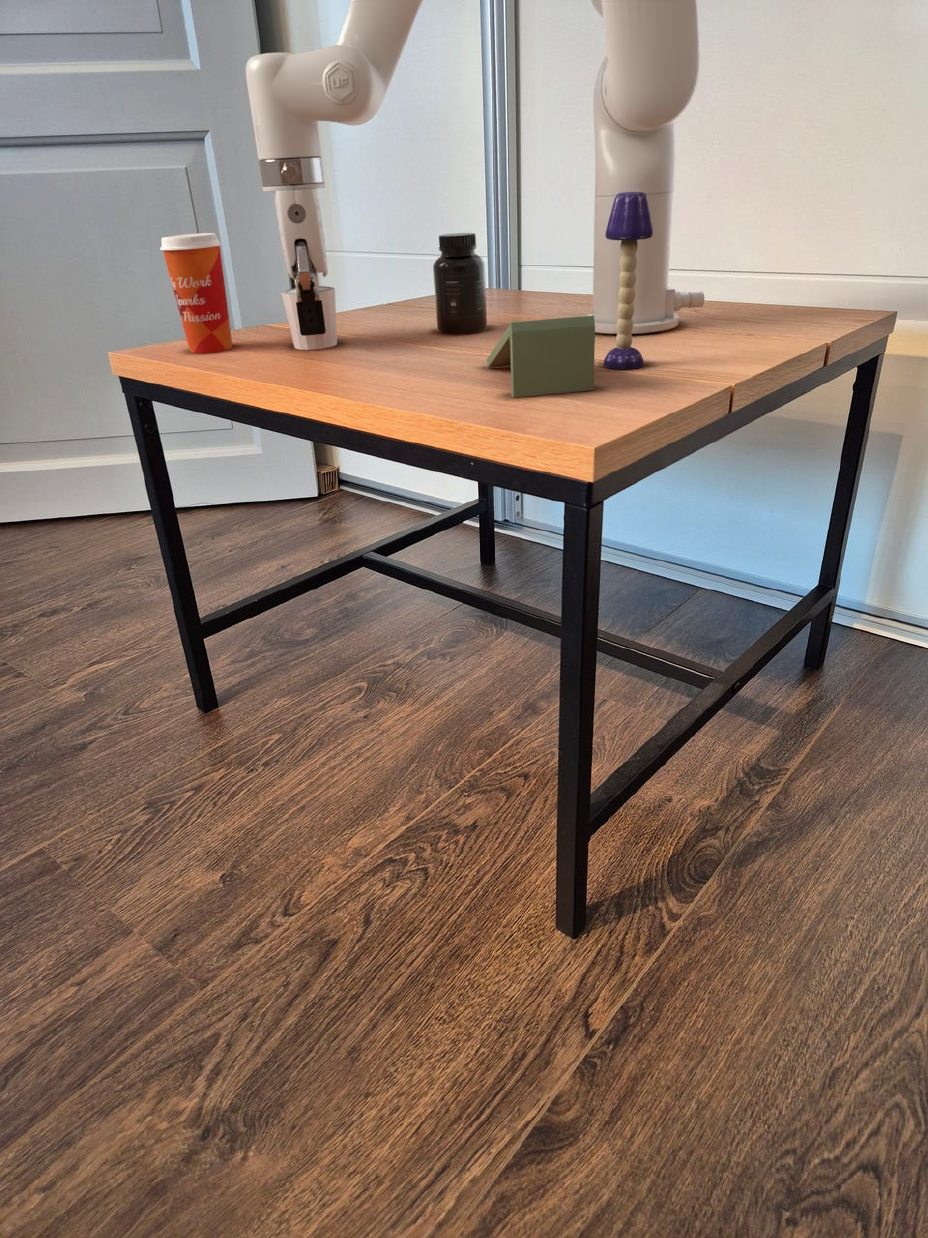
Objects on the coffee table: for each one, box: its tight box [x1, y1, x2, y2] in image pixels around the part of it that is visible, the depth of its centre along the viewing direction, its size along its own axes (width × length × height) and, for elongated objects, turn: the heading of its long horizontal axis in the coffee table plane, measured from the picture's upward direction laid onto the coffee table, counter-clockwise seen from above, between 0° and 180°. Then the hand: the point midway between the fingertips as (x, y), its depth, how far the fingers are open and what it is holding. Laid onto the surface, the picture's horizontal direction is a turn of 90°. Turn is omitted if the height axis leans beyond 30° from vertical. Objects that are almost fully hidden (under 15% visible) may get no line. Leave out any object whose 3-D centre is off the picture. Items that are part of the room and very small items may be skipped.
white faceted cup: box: [280, 285, 338, 351], centre depth 109 cm, size 7×7×7 cm
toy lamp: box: [603, 192, 653, 370], centre depth 86 cm, size 5×5×17 cm
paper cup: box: [159, 232, 233, 354], centre depth 109 cm, size 8×8×14 cm
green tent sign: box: [486, 315, 596, 399], centre depth 85 cm, size 14×8×7 cm, turn 9°
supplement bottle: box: [432, 232, 488, 335], centre depth 112 cm, size 7×7×12 cm
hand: (313, 328), depth 110 cm, fingers closed on white faceted cup, 6 cm apart
